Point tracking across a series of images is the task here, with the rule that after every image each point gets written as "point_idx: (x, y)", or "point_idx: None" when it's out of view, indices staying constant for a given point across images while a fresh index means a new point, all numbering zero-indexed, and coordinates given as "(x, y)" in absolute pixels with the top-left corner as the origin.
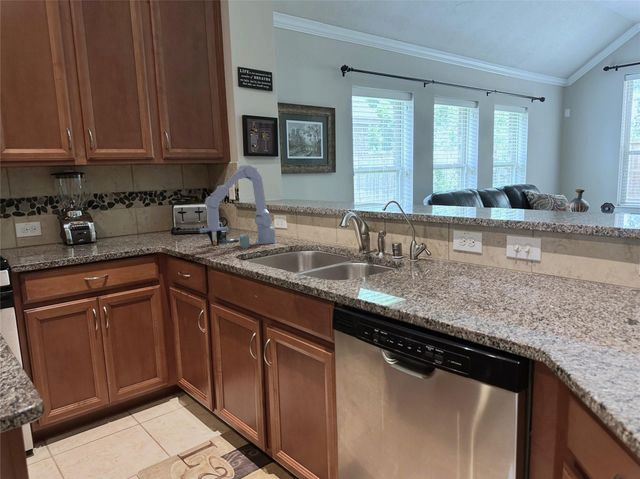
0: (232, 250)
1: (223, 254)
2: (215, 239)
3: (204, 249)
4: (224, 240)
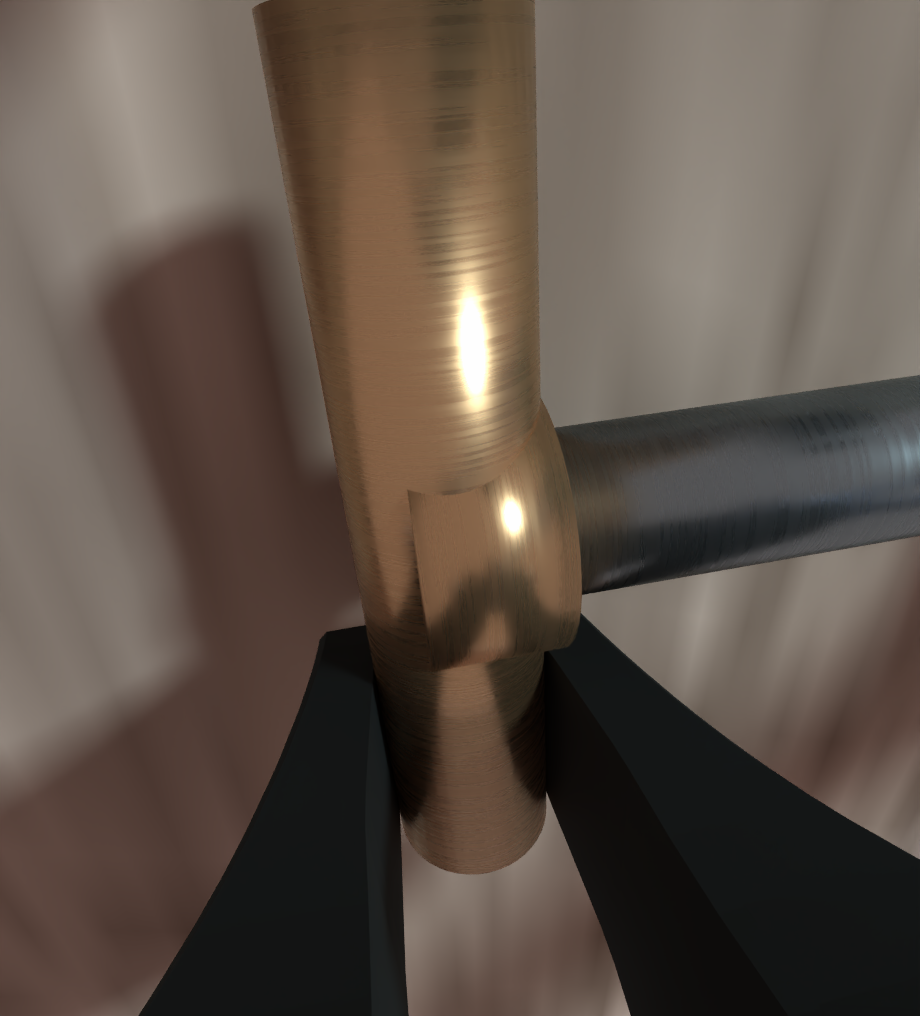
0: (810, 741)
1: (589, 986)
2: (504, 27)
3: (22, 493)
4: (916, 530)
